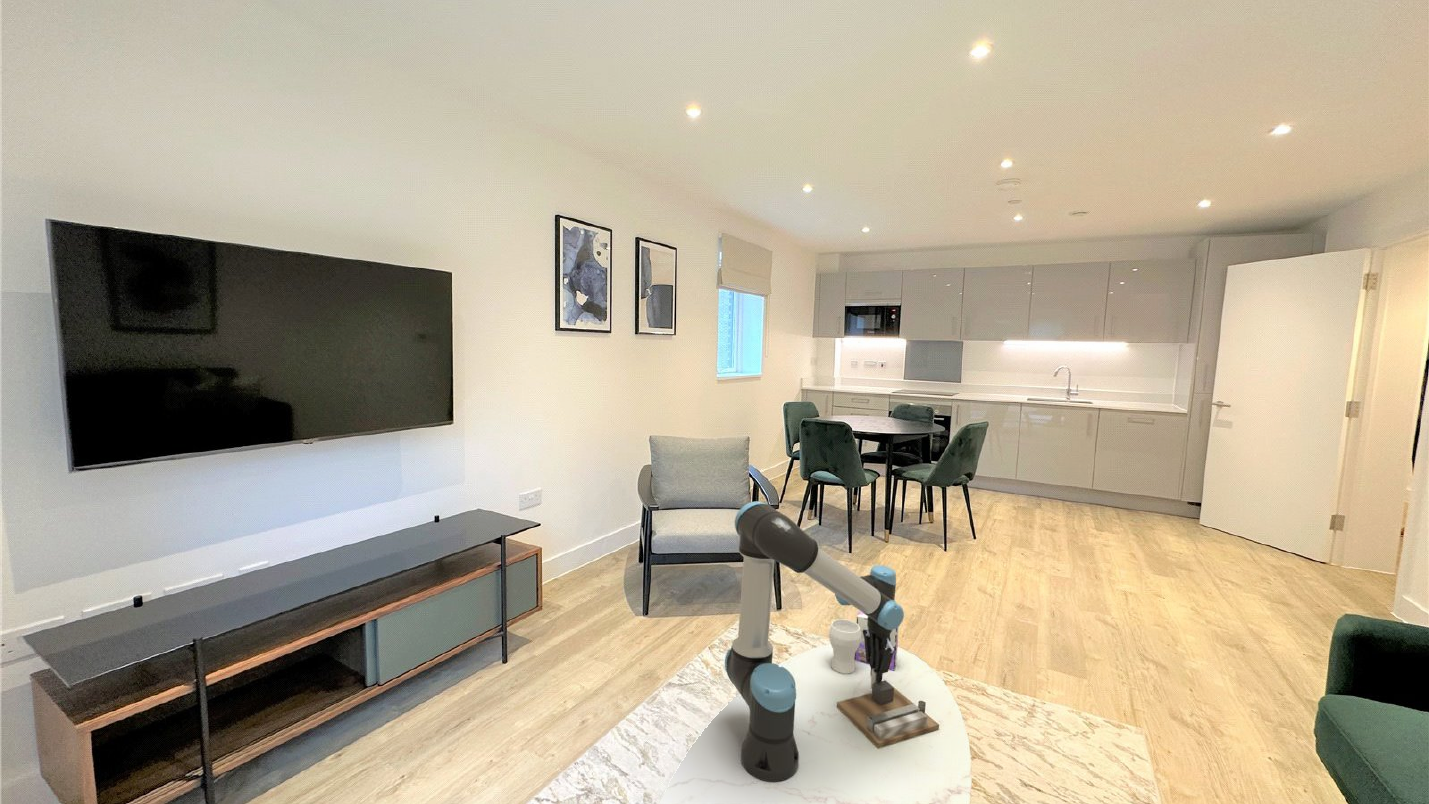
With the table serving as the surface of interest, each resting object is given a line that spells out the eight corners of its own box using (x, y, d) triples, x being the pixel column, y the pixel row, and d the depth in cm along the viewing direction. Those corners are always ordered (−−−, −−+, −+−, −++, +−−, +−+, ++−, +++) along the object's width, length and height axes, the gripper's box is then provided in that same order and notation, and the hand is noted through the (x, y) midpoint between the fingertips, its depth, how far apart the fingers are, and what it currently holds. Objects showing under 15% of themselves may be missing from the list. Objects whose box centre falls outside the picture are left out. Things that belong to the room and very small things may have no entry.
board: (878, 748, 151) (879, 729, 151) (836, 706, 168) (837, 689, 168) (938, 729, 160) (940, 711, 159) (893, 691, 177) (894, 675, 177)
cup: (827, 674, 186) (830, 631, 184) (826, 657, 196) (829, 616, 195) (860, 678, 184) (863, 635, 182) (857, 660, 194) (860, 620, 193)
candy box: (896, 662, 194) (899, 618, 193) (894, 671, 189) (897, 625, 187) (856, 652, 200) (859, 608, 198) (853, 660, 194) (856, 615, 193)
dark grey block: (880, 705, 167) (881, 691, 167) (871, 697, 171) (872, 683, 171) (893, 701, 169) (894, 687, 169) (884, 693, 173) (885, 680, 173)
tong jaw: (872, 732, 155) (873, 722, 155) (866, 726, 157) (867, 717, 157) (918, 718, 162) (919, 708, 161) (913, 713, 164) (913, 703, 164)
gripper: (904, 624, 166) (899, 698, 169) (875, 605, 178) (871, 675, 180) (885, 628, 163) (880, 704, 166) (857, 609, 175) (852, 679, 177)
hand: (875, 688), depth 173 cm, fingers closed
